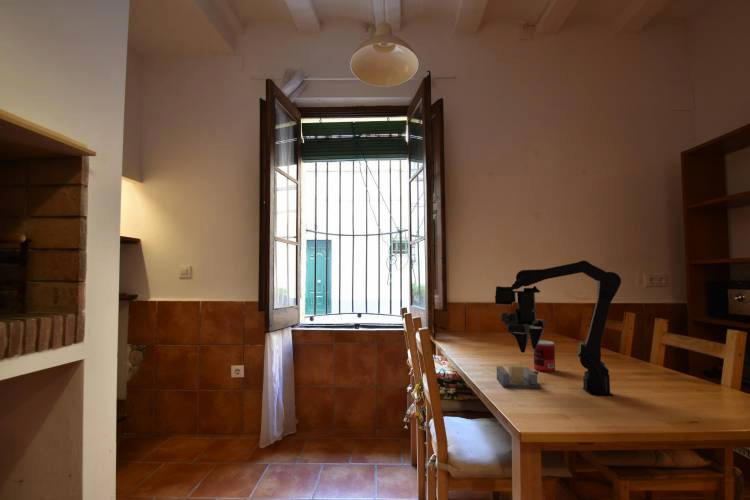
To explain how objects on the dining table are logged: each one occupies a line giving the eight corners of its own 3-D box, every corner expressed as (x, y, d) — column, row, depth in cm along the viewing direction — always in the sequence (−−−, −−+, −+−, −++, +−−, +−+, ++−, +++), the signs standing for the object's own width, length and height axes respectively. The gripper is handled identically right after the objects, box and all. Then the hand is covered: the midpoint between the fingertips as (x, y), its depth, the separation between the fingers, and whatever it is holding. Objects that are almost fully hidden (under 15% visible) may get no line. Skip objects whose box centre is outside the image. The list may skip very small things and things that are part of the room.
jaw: (536, 376, 131) (536, 367, 131) (546, 384, 121) (546, 375, 121) (522, 375, 131) (521, 367, 131) (531, 383, 121) (530, 374, 121)
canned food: (556, 369, 146) (555, 341, 147) (554, 373, 139) (553, 344, 140) (535, 366, 150) (535, 339, 151) (532, 370, 143) (531, 342, 144)
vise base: (530, 380, 131) (530, 367, 131) (540, 388, 121) (540, 374, 121) (496, 379, 132) (496, 366, 132) (503, 387, 122) (503, 373, 122)
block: (520, 378, 128) (520, 364, 129) (523, 382, 124) (523, 367, 125) (508, 378, 129) (508, 364, 129) (511, 381, 125) (511, 366, 125)
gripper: (516, 302, 140) (518, 343, 139) (492, 306, 127) (494, 351, 126) (546, 304, 132) (548, 347, 131) (523, 307, 119) (525, 356, 118)
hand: (528, 350), depth 127 cm, fingers open, 9 cm apart
